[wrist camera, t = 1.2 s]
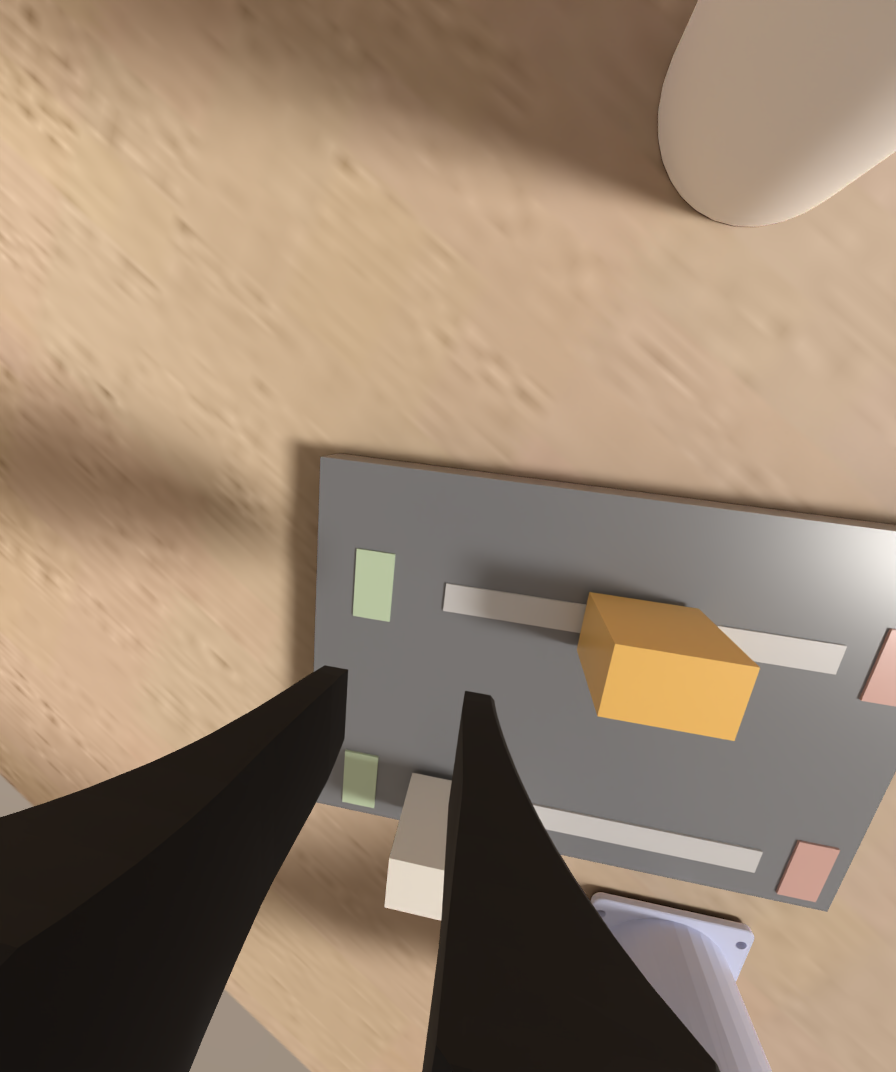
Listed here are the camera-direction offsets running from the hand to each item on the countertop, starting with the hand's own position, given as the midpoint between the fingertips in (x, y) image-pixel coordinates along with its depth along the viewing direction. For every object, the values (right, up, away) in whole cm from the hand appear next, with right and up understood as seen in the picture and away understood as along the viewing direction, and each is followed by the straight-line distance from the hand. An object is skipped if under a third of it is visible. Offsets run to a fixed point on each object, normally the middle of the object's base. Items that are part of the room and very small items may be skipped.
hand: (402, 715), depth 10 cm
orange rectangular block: (+8, +1, +6) cm, 10 cm away
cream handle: (+1, -8, +9) cm, 12 cm away
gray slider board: (+7, -2, +9) cm, 12 cm away
